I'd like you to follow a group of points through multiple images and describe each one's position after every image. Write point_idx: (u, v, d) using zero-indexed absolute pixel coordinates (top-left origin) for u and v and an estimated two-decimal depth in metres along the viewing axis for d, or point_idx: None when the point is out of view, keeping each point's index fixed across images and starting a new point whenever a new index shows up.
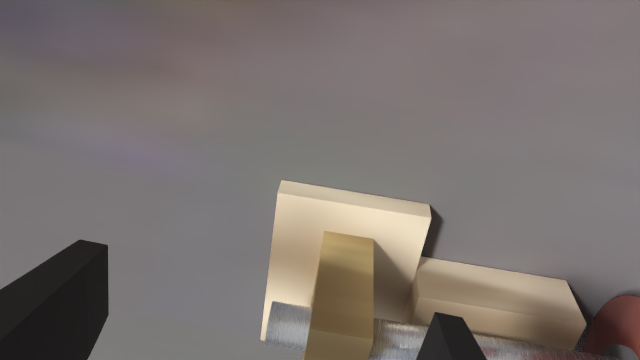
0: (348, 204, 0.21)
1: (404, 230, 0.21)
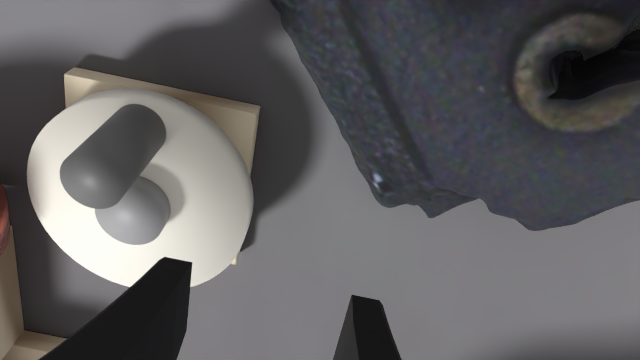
0: None
1: None
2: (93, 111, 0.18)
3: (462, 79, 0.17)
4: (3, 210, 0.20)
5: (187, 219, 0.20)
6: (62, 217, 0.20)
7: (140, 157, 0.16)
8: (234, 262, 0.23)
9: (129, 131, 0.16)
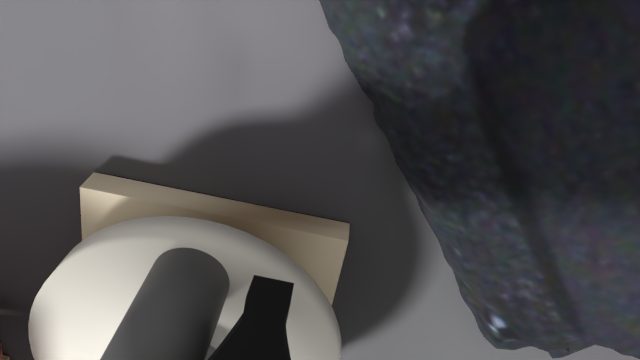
0: None
1: None
2: (124, 255, 0.12)
3: None
4: None
5: None
6: None
7: (202, 350, 0.10)
8: None
9: (184, 309, 0.11)
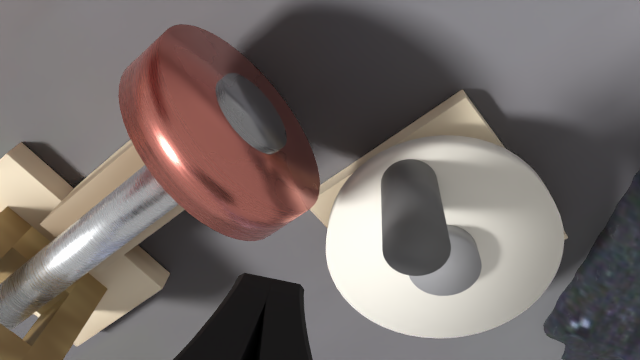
0: None
1: (9, 179, 0.21)
2: (361, 192, 0.18)
3: None
4: (318, 175, 0.18)
5: (496, 241, 0.18)
6: (381, 302, 0.20)
7: (438, 204, 0.15)
8: None
9: (413, 187, 0.16)
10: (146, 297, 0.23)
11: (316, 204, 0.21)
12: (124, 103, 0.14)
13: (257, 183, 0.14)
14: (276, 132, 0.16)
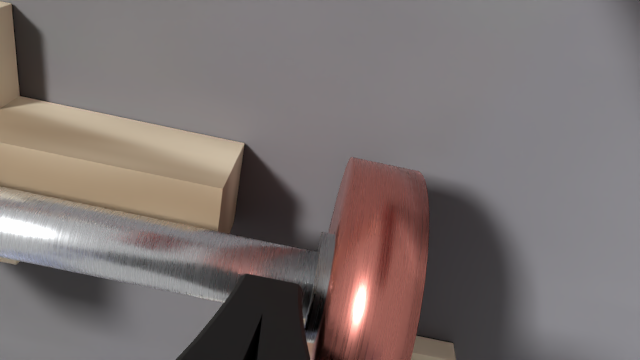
0: None
1: None
2: None
3: None
4: None
5: None
6: None
7: None
8: None
9: None
10: None
11: None
12: (351, 255, 0.10)
13: None
14: None
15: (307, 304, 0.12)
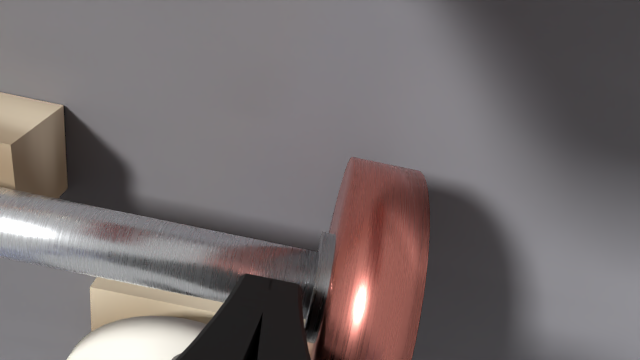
0: None
1: None
2: (152, 348, 0.16)
3: None
4: None
5: None
6: None
7: None
8: None
9: None
10: None
11: (100, 294, 0.18)
12: (352, 255, 0.10)
13: None
14: None
15: (308, 304, 0.12)
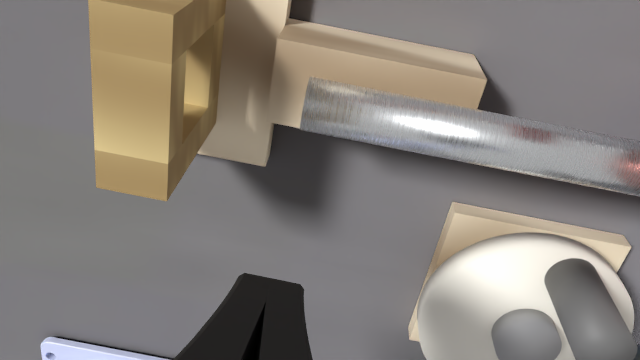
0: None
1: None
2: (538, 256, 0.19)
3: None
4: None
5: (560, 351, 0.21)
6: (443, 328, 0.21)
7: None
8: (411, 339, 0.25)
9: (610, 299, 0.18)
10: (239, 160, 0.21)
11: (461, 219, 0.21)
12: None
13: None
14: None
15: None
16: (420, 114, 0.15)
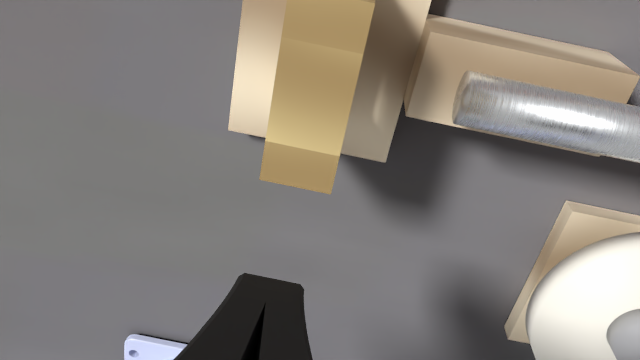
0: None
1: None
2: None
3: None
4: None
5: None
6: (557, 327, 0.21)
7: None
8: (510, 338, 0.24)
9: None
10: (360, 156, 0.20)
11: (578, 218, 0.21)
12: None
13: None
14: None
15: None
16: (584, 109, 0.15)
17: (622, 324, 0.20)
